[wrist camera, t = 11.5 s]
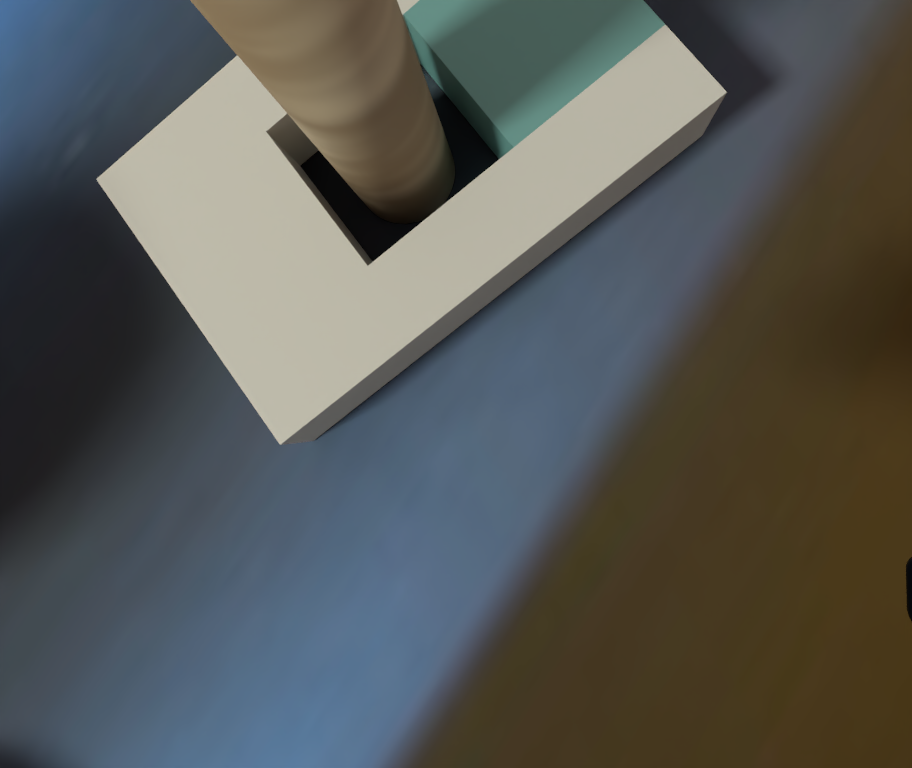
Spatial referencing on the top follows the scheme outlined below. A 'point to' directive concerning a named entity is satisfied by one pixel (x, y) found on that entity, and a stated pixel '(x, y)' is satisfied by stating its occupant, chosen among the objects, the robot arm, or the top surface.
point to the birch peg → (349, 93)
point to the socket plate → (437, 237)
